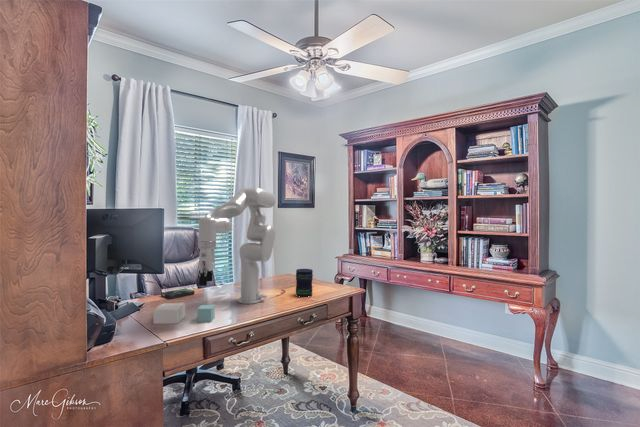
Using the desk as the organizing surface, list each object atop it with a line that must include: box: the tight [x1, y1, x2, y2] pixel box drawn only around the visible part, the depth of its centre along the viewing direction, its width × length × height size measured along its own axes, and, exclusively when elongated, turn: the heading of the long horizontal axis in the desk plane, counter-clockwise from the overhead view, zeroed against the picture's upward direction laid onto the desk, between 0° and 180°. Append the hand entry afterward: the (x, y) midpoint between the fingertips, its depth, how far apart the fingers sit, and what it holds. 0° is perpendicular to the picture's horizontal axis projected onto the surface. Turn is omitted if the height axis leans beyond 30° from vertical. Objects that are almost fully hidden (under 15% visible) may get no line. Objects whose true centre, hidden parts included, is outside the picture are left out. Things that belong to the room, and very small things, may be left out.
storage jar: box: [295, 268, 314, 298], centre depth 197 cm, size 10×10×15 cm
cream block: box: [152, 302, 186, 325], centre depth 150 cm, size 10×10×6 cm
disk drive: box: [160, 288, 195, 300], centre depth 192 cm, size 10×3×15 cm
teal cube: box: [196, 304, 216, 323], centre depth 151 cm, size 6×6×6 cm
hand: (205, 283), depth 151 cm, fingers open, 9 cm apart
